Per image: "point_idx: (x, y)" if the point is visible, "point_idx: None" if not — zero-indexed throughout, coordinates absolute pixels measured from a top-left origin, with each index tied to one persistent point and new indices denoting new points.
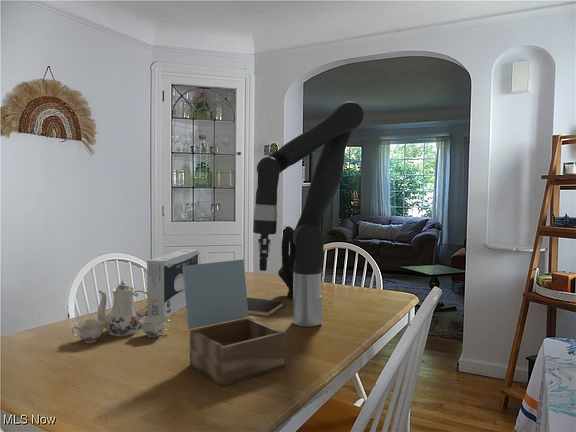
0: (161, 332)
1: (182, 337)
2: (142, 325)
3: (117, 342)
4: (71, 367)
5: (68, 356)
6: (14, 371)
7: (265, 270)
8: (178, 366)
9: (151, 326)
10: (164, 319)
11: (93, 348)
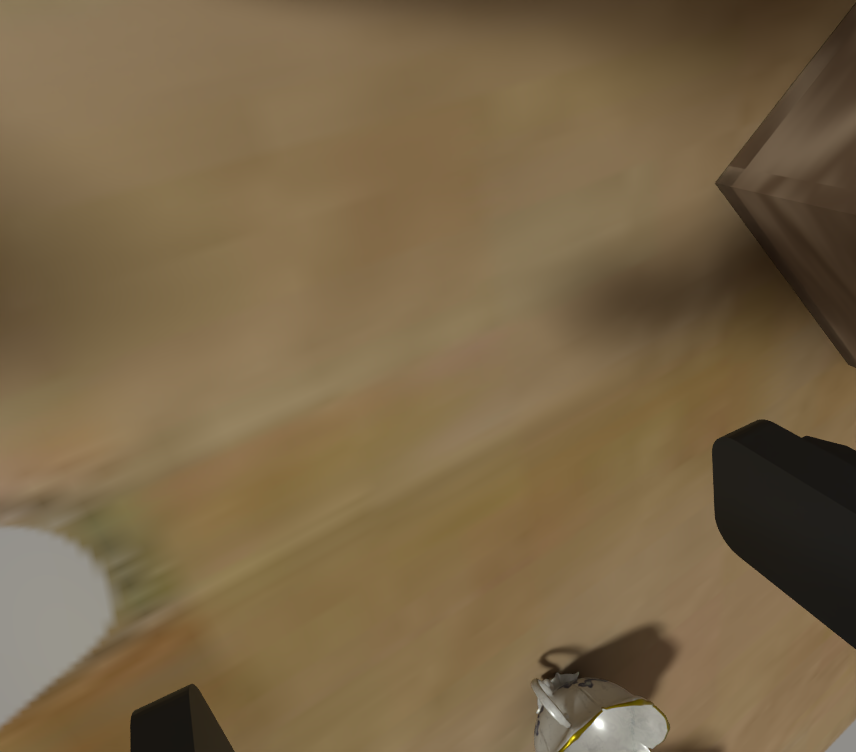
0: (551, 684)
1: (565, 580)
2: (637, 746)
3: None
4: (819, 661)
5: (748, 733)
6: (825, 738)
7: (752, 430)
8: (852, 395)
9: (646, 710)
10: (561, 740)
11: (691, 738)
